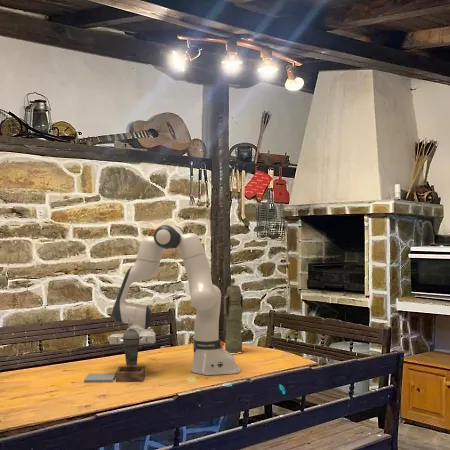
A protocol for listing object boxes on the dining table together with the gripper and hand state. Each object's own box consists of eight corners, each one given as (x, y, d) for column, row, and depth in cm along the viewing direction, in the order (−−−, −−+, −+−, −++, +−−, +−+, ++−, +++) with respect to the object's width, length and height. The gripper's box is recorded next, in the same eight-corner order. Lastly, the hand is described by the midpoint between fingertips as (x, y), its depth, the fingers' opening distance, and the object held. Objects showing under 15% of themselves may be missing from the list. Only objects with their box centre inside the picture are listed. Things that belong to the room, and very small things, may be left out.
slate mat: (116, 375, 269) (116, 373, 269) (112, 382, 257) (112, 379, 257) (88, 375, 268) (88, 373, 268) (83, 382, 256) (83, 380, 257)
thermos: (219, 353, 318) (219, 286, 318) (235, 350, 326) (235, 284, 326) (231, 355, 312) (231, 287, 312) (247, 352, 320) (247, 285, 320)
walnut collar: (145, 375, 270) (145, 366, 270) (143, 381, 258) (143, 372, 258) (118, 375, 269) (118, 366, 269) (115, 381, 257) (115, 372, 257)
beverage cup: (136, 367, 259) (136, 320, 259) (120, 366, 261) (119, 319, 261) (142, 363, 266) (141, 317, 266) (126, 362, 268) (126, 317, 268)
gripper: (111, 329, 276) (106, 335, 262) (156, 328, 277) (154, 334, 263) (111, 343, 276) (106, 349, 262) (156, 342, 277) (154, 348, 263)
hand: (131, 341), depth 263 cm, fingers closed on beverage cup, 7 cm apart
